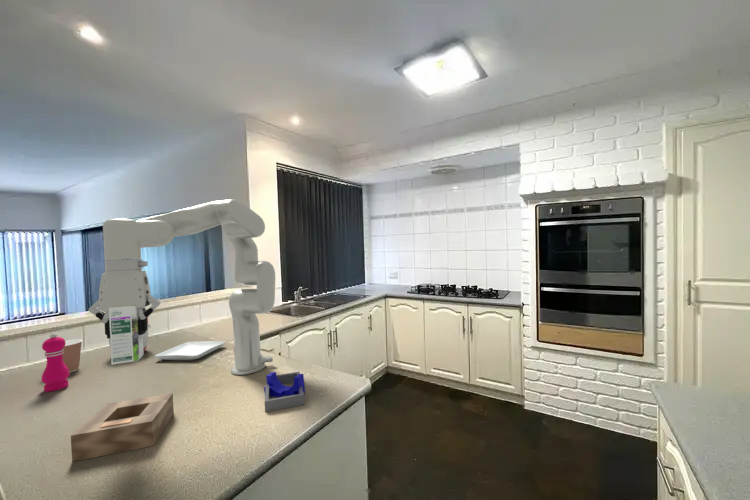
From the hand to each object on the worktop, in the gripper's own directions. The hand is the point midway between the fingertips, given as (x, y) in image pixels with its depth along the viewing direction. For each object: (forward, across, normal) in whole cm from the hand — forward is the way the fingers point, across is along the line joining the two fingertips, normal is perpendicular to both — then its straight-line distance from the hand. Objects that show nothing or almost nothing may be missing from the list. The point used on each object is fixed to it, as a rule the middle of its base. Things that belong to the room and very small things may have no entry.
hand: (127, 334), depth 83 cm
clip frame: (+26, -39, -8) cm, 47 cm away
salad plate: (+26, +1, -69) cm, 73 cm away
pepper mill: (+26, +40, -47) cm, 67 cm away
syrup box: (+7, 0, 0) cm, 7 cm away
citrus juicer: (+26, +30, -83) cm, 92 cm away
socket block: (+26, 0, 0) cm, 26 cm away
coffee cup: (+26, +47, -67) cm, 86 cm away
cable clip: (+26, -39, -8) cm, 47 cm away
